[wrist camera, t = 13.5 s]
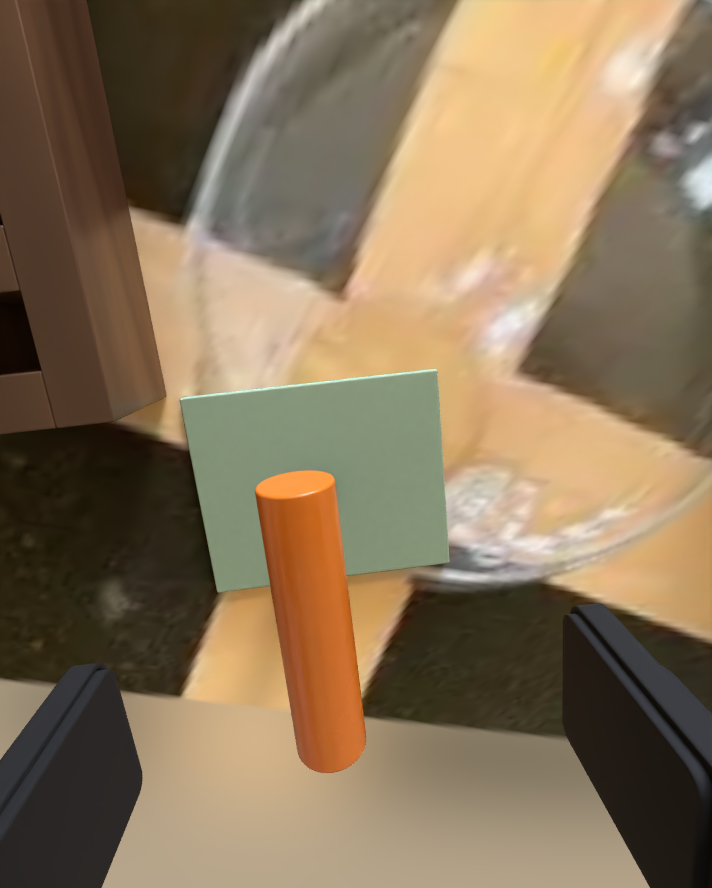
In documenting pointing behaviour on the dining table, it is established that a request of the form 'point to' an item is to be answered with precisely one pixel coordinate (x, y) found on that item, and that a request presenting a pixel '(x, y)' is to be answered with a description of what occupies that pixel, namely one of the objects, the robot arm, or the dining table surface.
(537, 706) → the dining table surface
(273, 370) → the dining table surface
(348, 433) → the mat
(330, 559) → the t handle
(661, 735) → the robot arm
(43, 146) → the rack
